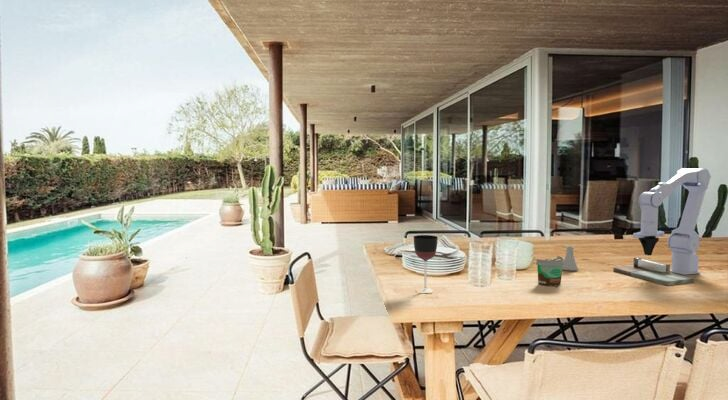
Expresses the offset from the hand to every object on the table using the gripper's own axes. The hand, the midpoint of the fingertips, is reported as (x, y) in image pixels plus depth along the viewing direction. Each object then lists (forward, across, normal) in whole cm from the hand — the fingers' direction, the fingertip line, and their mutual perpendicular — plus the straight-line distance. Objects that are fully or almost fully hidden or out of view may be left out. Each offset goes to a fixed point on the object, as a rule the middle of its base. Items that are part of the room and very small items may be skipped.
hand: (647, 254), depth 182 cm
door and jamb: (+9, +1, -1) cm, 9 cm away
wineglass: (+9, -95, +10) cm, 96 cm away
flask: (+9, -21, +20) cm, 30 cm away
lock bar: (+7, +5, +4) cm, 10 cm away
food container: (+9, -45, +2) cm, 46 cm away
